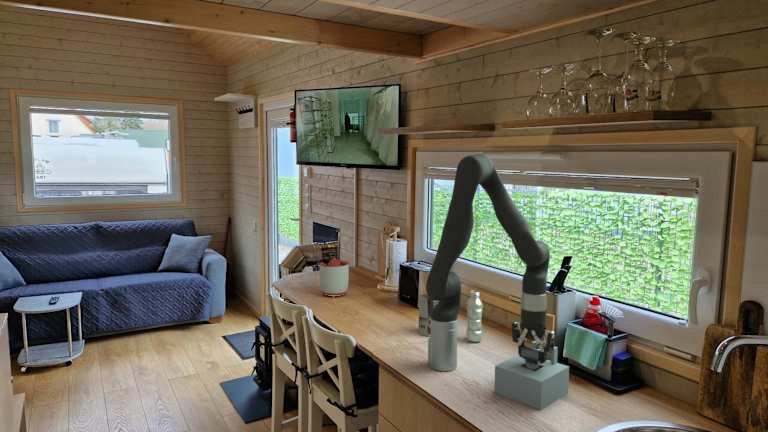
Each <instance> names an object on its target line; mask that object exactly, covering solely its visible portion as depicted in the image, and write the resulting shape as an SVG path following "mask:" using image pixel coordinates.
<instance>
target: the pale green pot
mask: <svg viewBox="0 0 768 432" xmlns="http://www.w3.org/2000/svg"><path fill="white" fill-rule="evenodd" d="M318 264H319V285H320V288H321V292H322V295H323V294H327V295H342V294H345V293H346V294H347V291H348V287H349V279H350V278H349V277H350V275H349V274H350V272H349V271H350V270H349V264H350V262H349V261H346V260H338V258H336V257H332V258H331V259H330V260H329V262H328V263H327V264H325V262H323V261H321V262H318ZM346 294H345V295H346Z"/></svg>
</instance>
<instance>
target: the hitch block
mask: <svg viewBox="0 0 768 432" xmlns="http://www.w3.org/2000/svg"><path fill="white" fill-rule="evenodd" d="M530 344H534V345H537V343H536V341H534V340H532V342H531V343H530ZM558 350H559V349H558V346H554V349H553V350H551V353H550V354H551V355H550V359H547V360H546V362H545V363H543V364H541V363H539V369H538V370H537V371H533V370H530V369H527V368H525V359H523V358H522V357H520V356H519V354H518V355H515V356H513V357H511V358H509V359H506V360H504V361H502V362H500V363H498V364H496V365H495V366H494V390H493V392H494V393H496V394H498V395H501V396H503V397H505V398H509V399H511V400H514V401H517V402H519V403H521V404H524V405H526V406H529V407H532V408H534V409H537V410H539V411H541V410H543V409H545V408H547V407H548V406H549V404H550V405H551V404H553V403H554V401H555V402H556V401H558V400H559V399H562V398H563V397H564V396H566V395H568V394H569V382H570V379H569V377H570V366H569V365H565V364H562V363H559V362H558V355H559V353H558Z"/></svg>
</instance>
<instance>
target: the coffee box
mask: <svg viewBox="0 0 768 432" xmlns="http://www.w3.org/2000/svg"><path fill="white" fill-rule="evenodd" d="M438 302H439V301H434V300H431V299H430V298H429V297H428V295H427V293H425V294H424V293H423V294H420V295H419V296H418V334H419V335H422V336H425V337H428V338H430V337H431V310H432V309H433V308H434V307H435V306H436V305H437V304H438Z"/></svg>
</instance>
